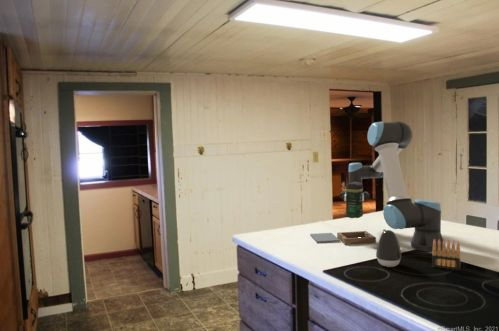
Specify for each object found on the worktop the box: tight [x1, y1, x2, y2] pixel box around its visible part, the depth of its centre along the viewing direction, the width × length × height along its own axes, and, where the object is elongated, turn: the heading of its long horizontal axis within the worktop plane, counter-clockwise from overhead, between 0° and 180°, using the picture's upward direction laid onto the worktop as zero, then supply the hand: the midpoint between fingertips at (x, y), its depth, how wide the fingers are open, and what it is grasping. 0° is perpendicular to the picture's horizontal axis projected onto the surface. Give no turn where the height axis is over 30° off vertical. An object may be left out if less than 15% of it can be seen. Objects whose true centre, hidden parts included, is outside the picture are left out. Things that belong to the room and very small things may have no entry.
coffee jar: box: [345, 182, 364, 219], centre depth 216 cm, size 10×8×19 cm
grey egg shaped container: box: [375, 229, 402, 268], centre depth 176 cm, size 10×10×15 cm
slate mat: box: [310, 232, 341, 244], centre depth 223 cm, size 16×12×1 cm
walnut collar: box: [336, 230, 377, 246], centre depth 217 cm, size 14×16×3 cm
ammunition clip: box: [431, 239, 462, 269], centre depth 169 cm, size 11×2×12 cm, turn 59°
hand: (354, 198), depth 211 cm, fingers closed on coffee jar, 8 cm apart
